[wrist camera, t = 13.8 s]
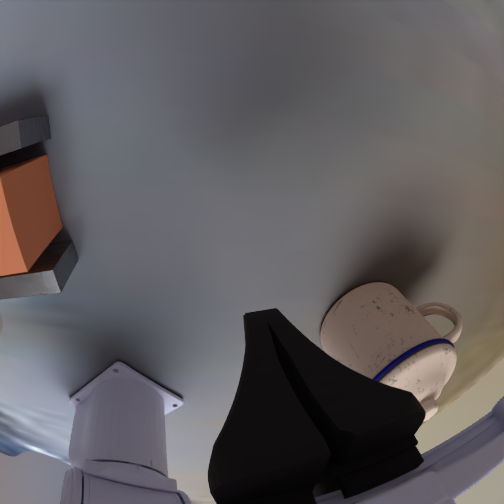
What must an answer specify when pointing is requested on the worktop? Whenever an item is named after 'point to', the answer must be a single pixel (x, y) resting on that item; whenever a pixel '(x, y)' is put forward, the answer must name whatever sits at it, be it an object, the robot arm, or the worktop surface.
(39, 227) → the block
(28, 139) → the coupler channel
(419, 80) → the worktop surface
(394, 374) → the teacup with lid
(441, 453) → the robot arm
